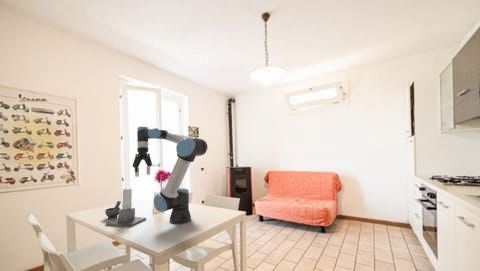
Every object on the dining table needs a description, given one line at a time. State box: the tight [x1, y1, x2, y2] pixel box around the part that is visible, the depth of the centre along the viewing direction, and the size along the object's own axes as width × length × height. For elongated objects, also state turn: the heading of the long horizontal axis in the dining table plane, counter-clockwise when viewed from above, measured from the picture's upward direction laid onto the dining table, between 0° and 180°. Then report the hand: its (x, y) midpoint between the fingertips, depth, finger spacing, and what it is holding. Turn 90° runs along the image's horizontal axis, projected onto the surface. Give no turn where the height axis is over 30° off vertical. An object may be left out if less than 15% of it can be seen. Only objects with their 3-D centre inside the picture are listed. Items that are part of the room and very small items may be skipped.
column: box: [121, 187, 133, 210], centre depth 153 cm, size 5×4×17 cm
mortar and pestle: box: [104, 200, 122, 221], centre depth 163 cm, size 11×9×12 cm
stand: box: [105, 207, 147, 228], centre depth 152 cm, size 20×16×10 cm
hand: (142, 175), depth 158 cm, fingers open, 13 cm apart
